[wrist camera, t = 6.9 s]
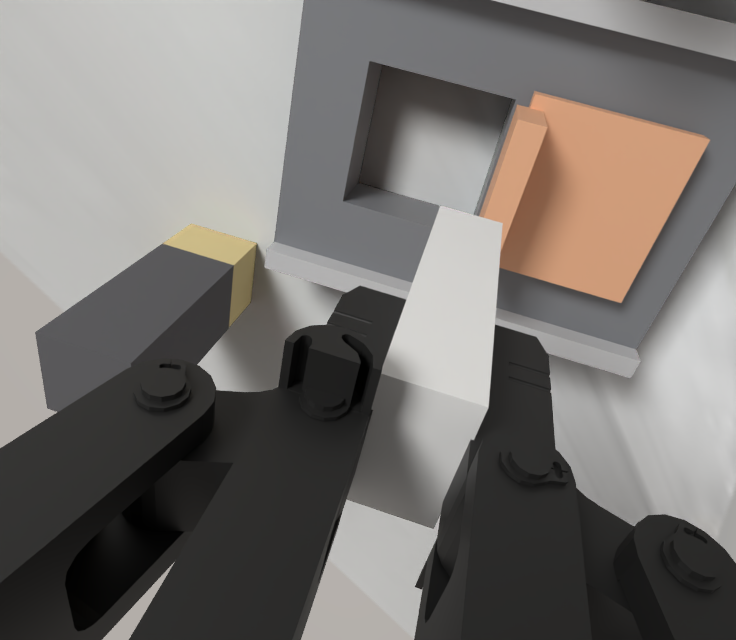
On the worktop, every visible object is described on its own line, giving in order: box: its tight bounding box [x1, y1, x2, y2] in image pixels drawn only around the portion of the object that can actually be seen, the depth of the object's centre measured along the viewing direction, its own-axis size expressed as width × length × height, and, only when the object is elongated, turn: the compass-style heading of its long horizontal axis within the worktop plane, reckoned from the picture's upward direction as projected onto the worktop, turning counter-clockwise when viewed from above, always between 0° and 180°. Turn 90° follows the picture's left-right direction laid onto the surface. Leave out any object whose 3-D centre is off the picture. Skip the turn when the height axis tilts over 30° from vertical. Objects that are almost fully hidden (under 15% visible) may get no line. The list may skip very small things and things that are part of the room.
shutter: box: [479, 91, 710, 303], centre depth 21 cm, size 7×7×4 cm
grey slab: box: [264, 0, 736, 378], centre depth 24 cm, size 14×18×4 cm
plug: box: [35, 224, 257, 412], centre depth 27 cm, size 4×4×12 cm
